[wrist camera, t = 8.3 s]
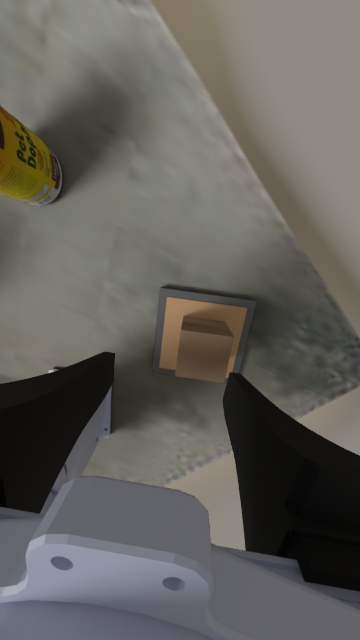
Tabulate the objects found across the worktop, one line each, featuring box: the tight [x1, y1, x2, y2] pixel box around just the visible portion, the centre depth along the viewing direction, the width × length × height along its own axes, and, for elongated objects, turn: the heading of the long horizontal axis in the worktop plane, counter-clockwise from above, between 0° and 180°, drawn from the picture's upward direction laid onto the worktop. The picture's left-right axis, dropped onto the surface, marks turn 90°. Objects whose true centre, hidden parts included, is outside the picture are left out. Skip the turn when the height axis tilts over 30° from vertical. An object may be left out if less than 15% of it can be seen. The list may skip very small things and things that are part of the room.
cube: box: [175, 316, 234, 383], centre depth 19 cm, size 4×4×4 cm
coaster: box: [152, 287, 257, 383], centre depth 22 cm, size 10×10×1 cm
